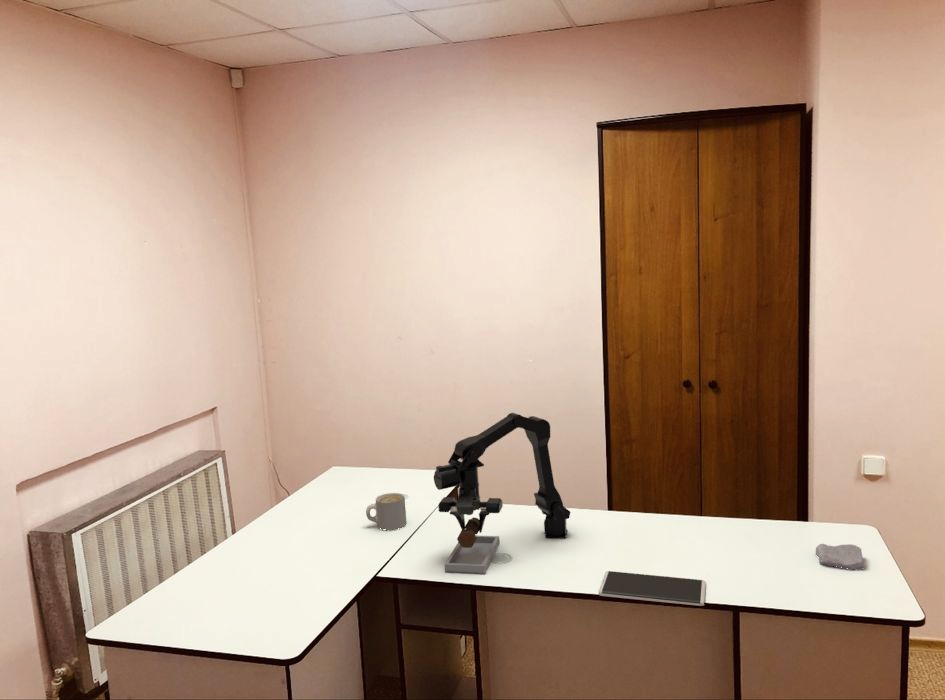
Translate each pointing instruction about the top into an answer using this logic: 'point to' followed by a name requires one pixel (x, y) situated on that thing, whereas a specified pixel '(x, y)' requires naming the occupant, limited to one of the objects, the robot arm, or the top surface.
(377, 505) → the coffee mug
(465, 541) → the bolt
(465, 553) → the parts tray
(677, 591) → the smartphone
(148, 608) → the top surface
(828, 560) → the stone block
